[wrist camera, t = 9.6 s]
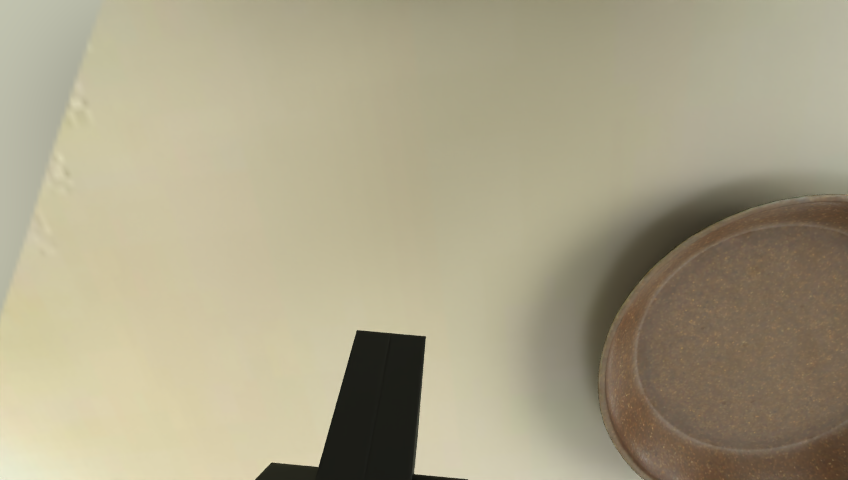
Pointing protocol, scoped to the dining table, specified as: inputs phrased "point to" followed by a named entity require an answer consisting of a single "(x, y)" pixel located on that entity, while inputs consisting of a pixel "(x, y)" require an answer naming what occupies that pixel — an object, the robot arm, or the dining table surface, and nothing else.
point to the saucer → (737, 351)
